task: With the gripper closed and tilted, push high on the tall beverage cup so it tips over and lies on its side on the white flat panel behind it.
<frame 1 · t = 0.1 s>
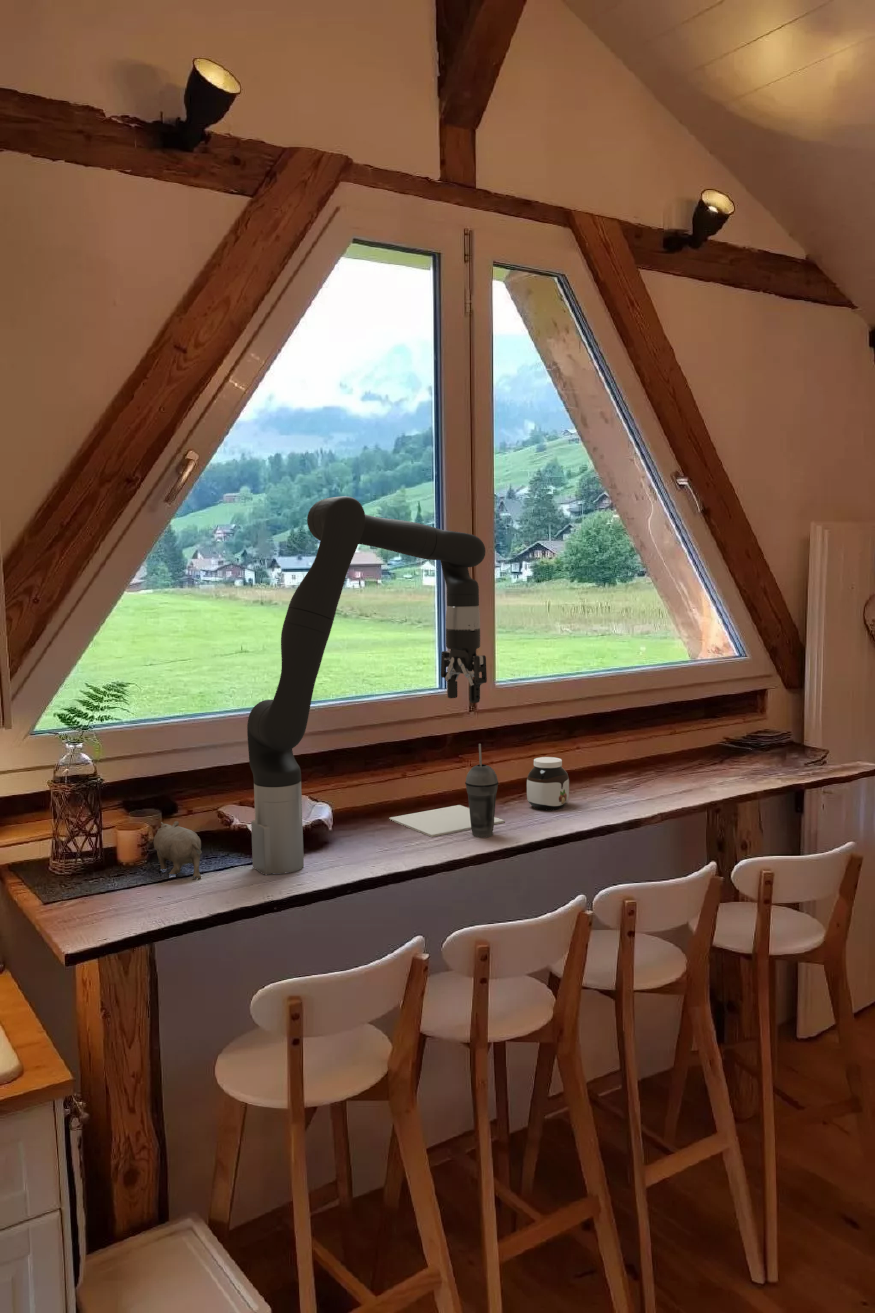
hand: (463, 700, 221), 29 cm above the bar counter, tool pointing down, fingers open, 8 cm apart
spread jar: (545, 805, 246), on the bar counter
beverage cup: (482, 835, 220), on the bar counter
elephant figurine: (178, 871, 199), on the bar counter
white flat panel: (446, 821, 232), on the bar counter
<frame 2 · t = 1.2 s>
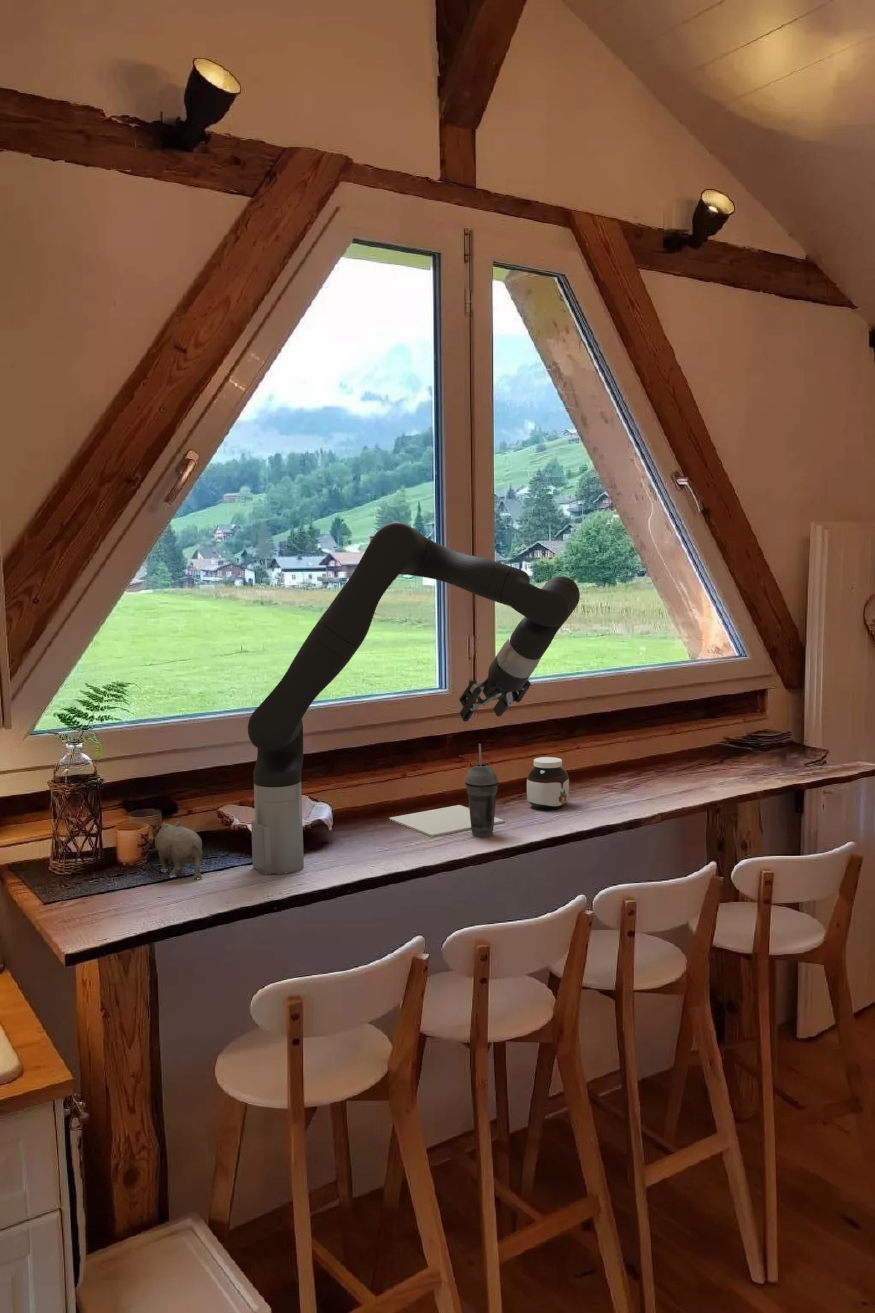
hand: (480, 715, 202), 29 cm above the bar counter, tool tilted 45°, fingers open, 8 cm apart
nothing on the bar counter moved.
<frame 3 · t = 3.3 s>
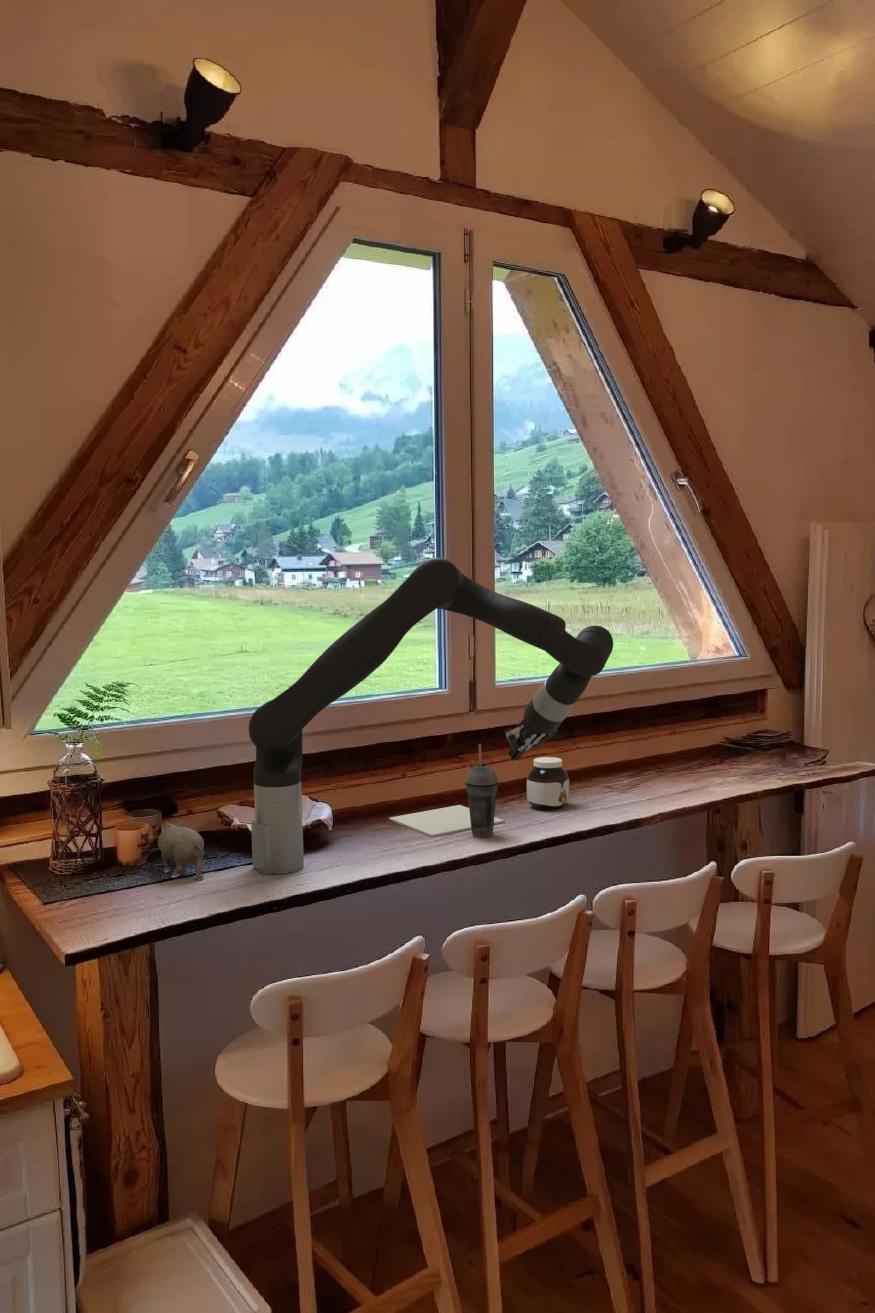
hand: (512, 756, 209), 19 cm above the bar counter, tool tilted 45°, fingers closed
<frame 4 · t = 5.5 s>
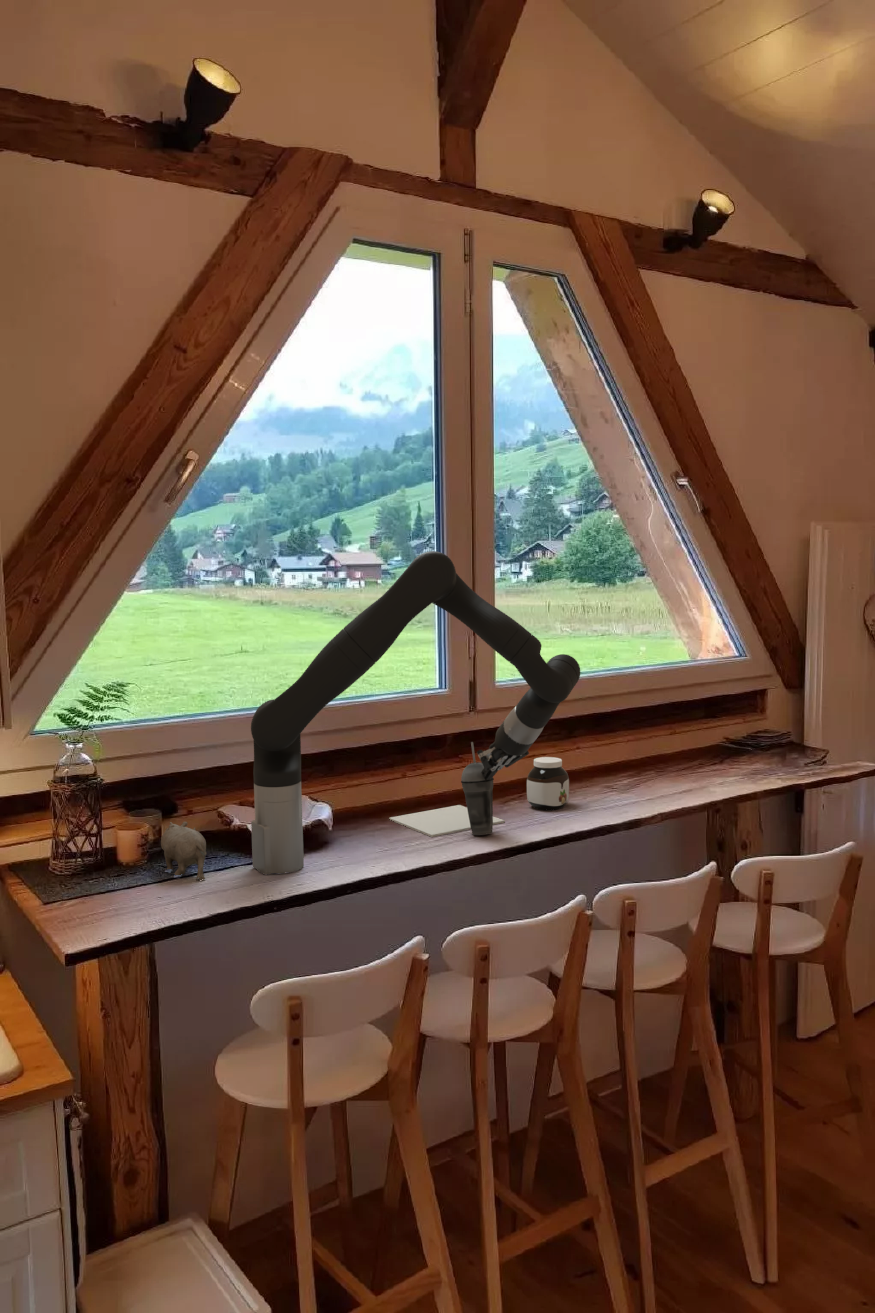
hand: (485, 776, 218), 13 cm above the bar counter, tool tilted 45°, fingers closed
beverage cup: (482, 834, 220), on the bar counter, touching gripper
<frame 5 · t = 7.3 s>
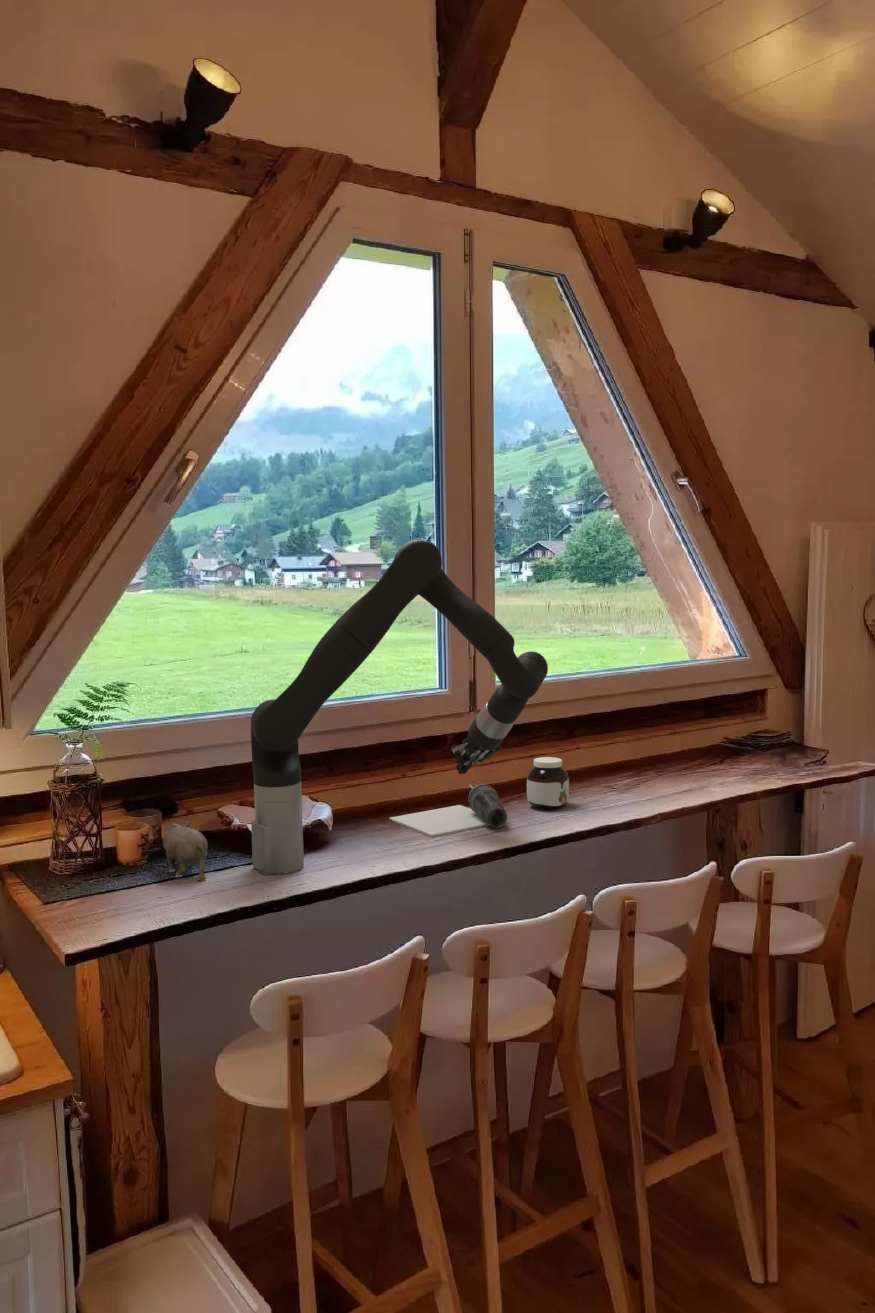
hand: (460, 770, 226), 13 cm above the bar counter, tool tilted 45°, fingers closed
beverage cup: (497, 818, 224), point 3 cm above the bar counter, touching white flat panel
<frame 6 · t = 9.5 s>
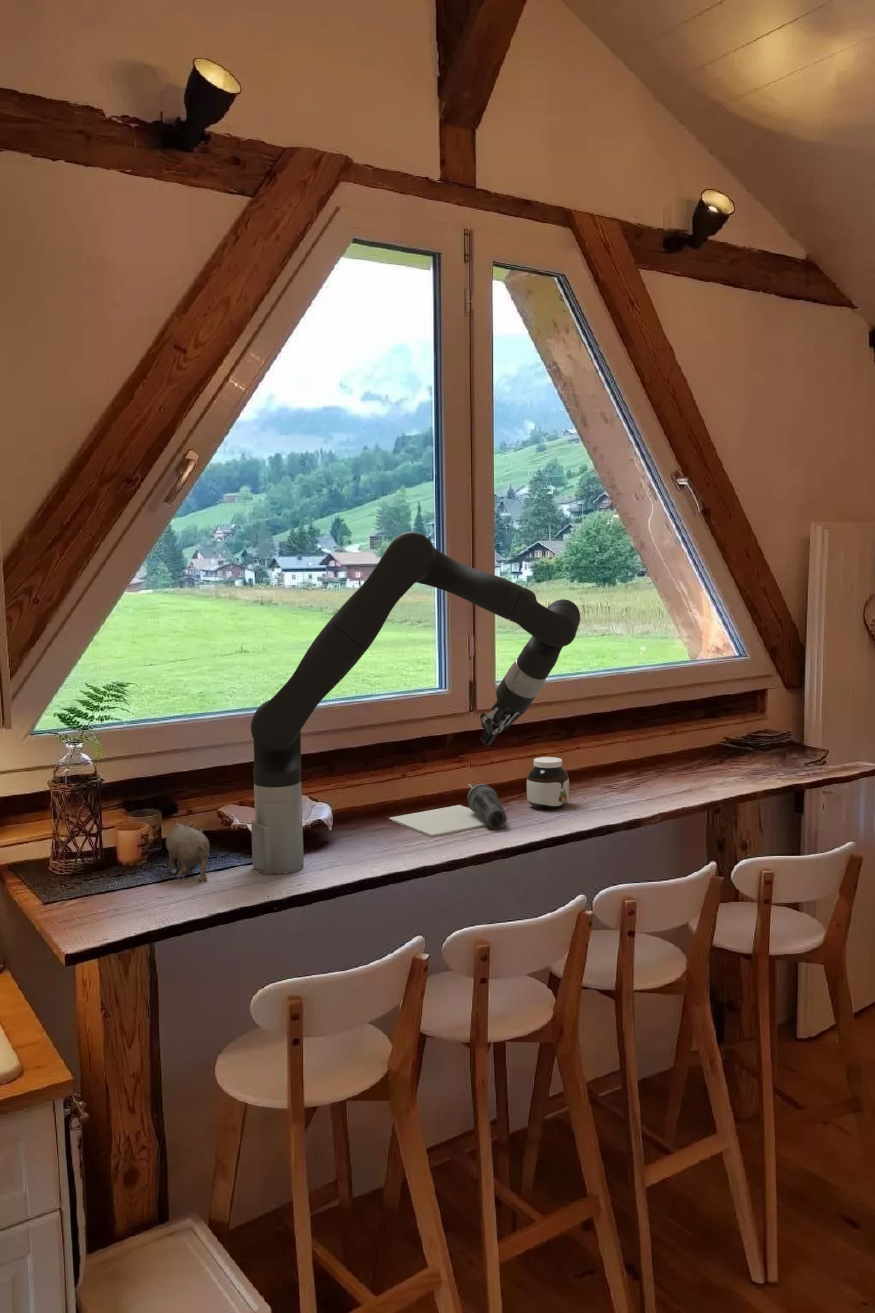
hand: (485, 742, 213), 22 cm above the bar counter, tool tilted 40°, fingers closed
beverage cup: (497, 820, 224), point 2 cm above the bar counter, touching white flat panel
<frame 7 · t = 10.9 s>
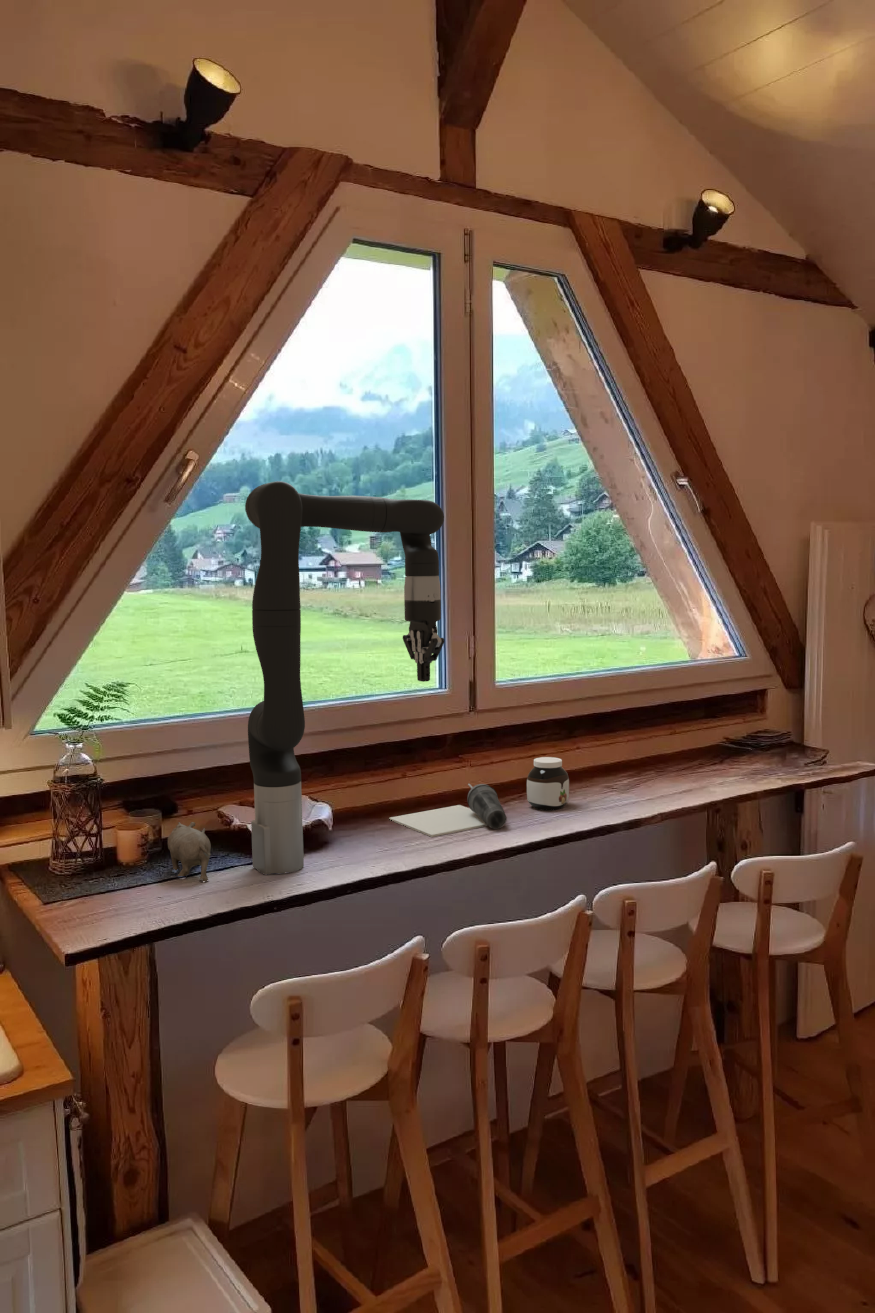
hand: (423, 681, 210), 35 cm above the bar counter, tool pointing down, fingers closed
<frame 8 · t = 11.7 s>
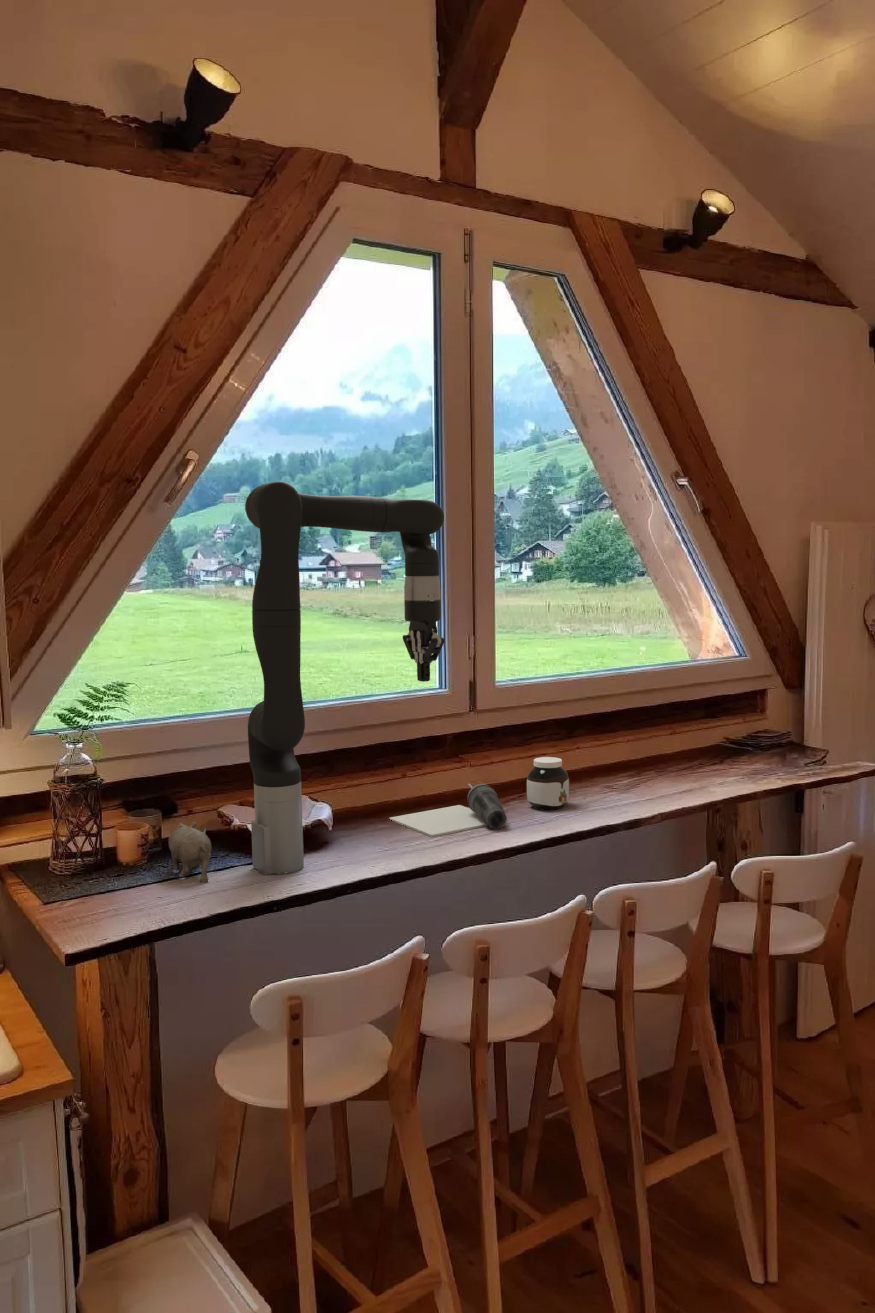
hand: (423, 681, 210), 35 cm above the bar counter, tool pointing down, fingers closed
at the end: beverage cup tilted 81°; beverage cup touching white flat panel, bar counter; beverage cup inside the target area (6.3 cm from its centre), point 2.2 cm above the bar counter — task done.
